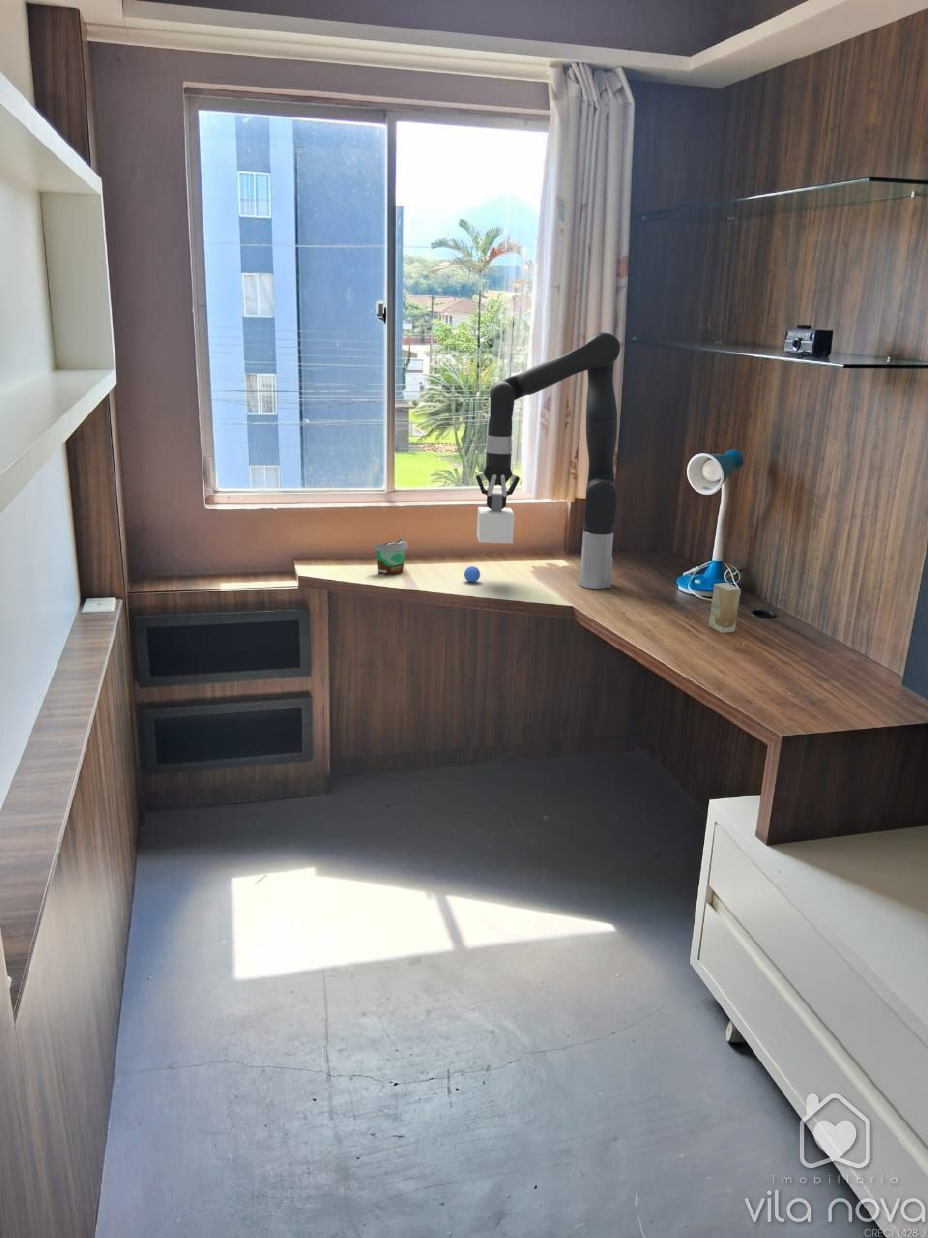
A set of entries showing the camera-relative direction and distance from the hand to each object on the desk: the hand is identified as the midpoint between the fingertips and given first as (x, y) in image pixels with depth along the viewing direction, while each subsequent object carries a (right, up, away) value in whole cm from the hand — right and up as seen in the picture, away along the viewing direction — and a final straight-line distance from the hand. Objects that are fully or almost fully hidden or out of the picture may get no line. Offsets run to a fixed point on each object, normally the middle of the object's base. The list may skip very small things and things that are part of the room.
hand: (496, 508), depth 286 cm
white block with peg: (0, -9, +3) cm, 10 cm away
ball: (-7, -20, +6) cm, 22 cm away
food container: (-32, -19, +15) cm, 40 cm away
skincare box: (+60, -37, -30) cm, 76 cm away
